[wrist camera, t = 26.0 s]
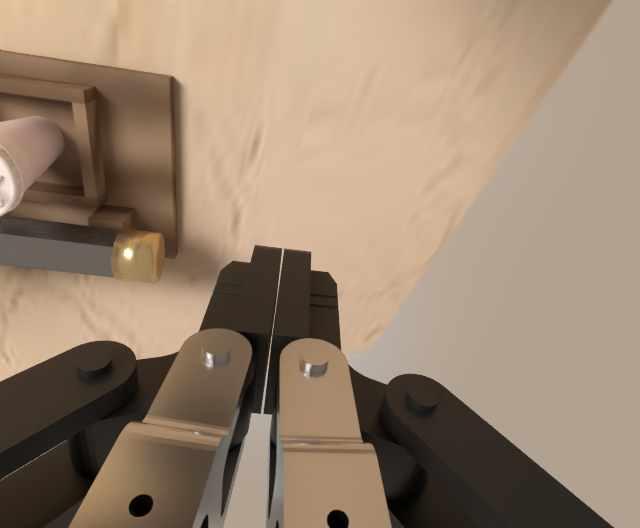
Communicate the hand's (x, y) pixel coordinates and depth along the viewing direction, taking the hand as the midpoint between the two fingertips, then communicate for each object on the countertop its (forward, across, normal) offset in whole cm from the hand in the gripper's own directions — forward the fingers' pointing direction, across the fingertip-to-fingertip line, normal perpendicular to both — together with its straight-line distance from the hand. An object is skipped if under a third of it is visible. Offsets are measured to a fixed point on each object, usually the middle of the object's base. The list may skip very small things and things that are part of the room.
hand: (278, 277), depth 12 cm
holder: (+29, +22, +9) cm, 37 cm away
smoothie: (+28, +22, +7) cm, 36 cm away
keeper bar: (+25, +23, +15) cm, 37 cm away
